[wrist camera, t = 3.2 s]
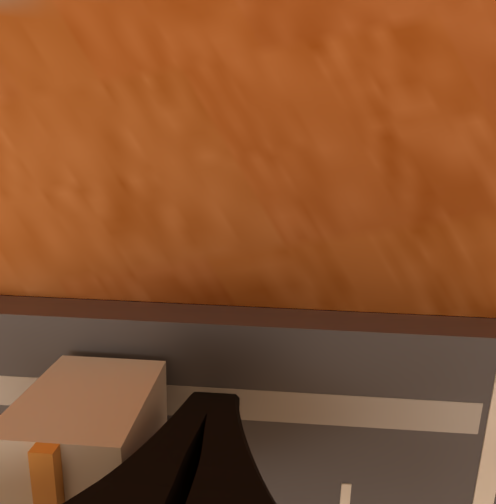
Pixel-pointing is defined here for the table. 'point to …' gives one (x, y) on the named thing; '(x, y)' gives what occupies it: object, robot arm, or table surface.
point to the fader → (78, 426)
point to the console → (300, 388)
